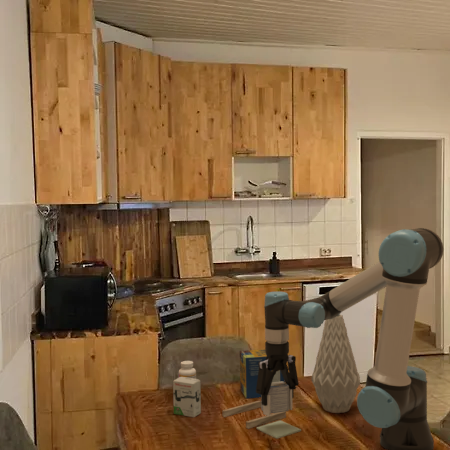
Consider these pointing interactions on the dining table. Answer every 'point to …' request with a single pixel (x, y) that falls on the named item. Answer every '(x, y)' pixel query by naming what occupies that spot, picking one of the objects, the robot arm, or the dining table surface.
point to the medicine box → (278, 397)
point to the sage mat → (278, 429)
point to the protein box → (253, 372)
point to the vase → (335, 368)
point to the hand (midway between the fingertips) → (277, 411)
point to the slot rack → (258, 420)
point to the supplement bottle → (187, 370)
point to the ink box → (187, 396)
